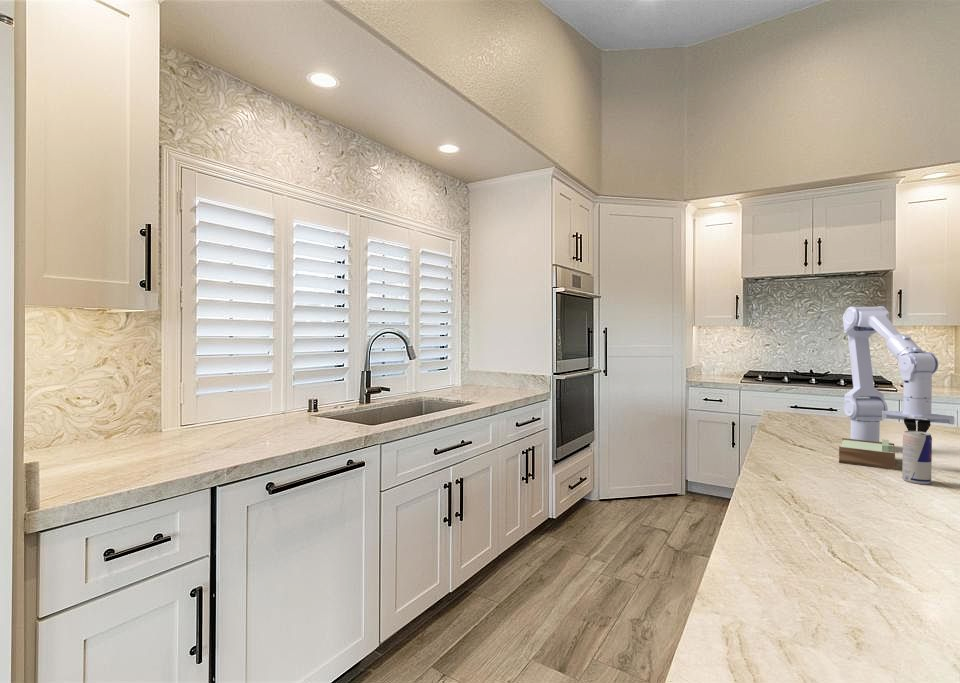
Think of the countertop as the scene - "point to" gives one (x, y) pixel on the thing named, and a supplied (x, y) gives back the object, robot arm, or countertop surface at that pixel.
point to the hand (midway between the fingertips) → (916, 447)
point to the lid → (869, 445)
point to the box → (867, 456)
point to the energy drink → (917, 457)
